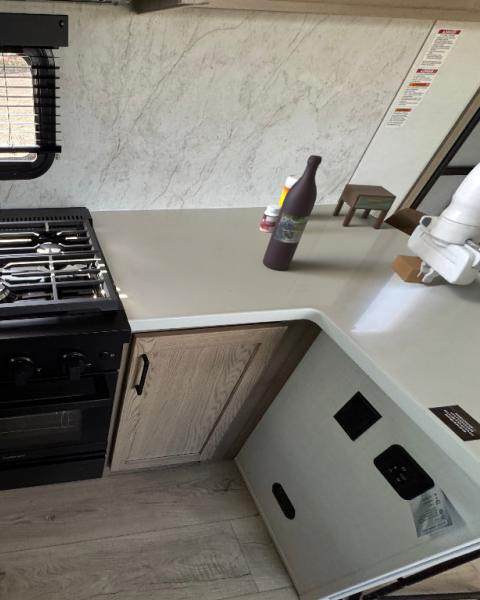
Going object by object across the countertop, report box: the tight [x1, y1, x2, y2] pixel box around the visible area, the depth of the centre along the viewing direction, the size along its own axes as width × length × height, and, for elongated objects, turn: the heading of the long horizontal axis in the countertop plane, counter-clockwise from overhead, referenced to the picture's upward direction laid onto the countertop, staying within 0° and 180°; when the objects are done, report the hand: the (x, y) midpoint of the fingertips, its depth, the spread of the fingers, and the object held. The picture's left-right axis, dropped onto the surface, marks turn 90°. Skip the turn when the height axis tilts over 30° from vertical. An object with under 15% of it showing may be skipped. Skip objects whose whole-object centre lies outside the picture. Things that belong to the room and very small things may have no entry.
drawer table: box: [332, 183, 397, 230], centre depth 121 cm, size 12×11×12 cm
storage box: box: [390, 254, 427, 285], centre depth 94 cm, size 8×5×4 cm, turn 166°
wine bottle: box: [262, 154, 323, 271], centre depth 91 cm, size 7×7×30 cm
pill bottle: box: [259, 203, 281, 233], centre depth 117 cm, size 5×5×8 cm
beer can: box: [277, 174, 303, 207], centre depth 123 cm, size 6×6×15 cm
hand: (423, 280), depth 90 cm, fingers closed
